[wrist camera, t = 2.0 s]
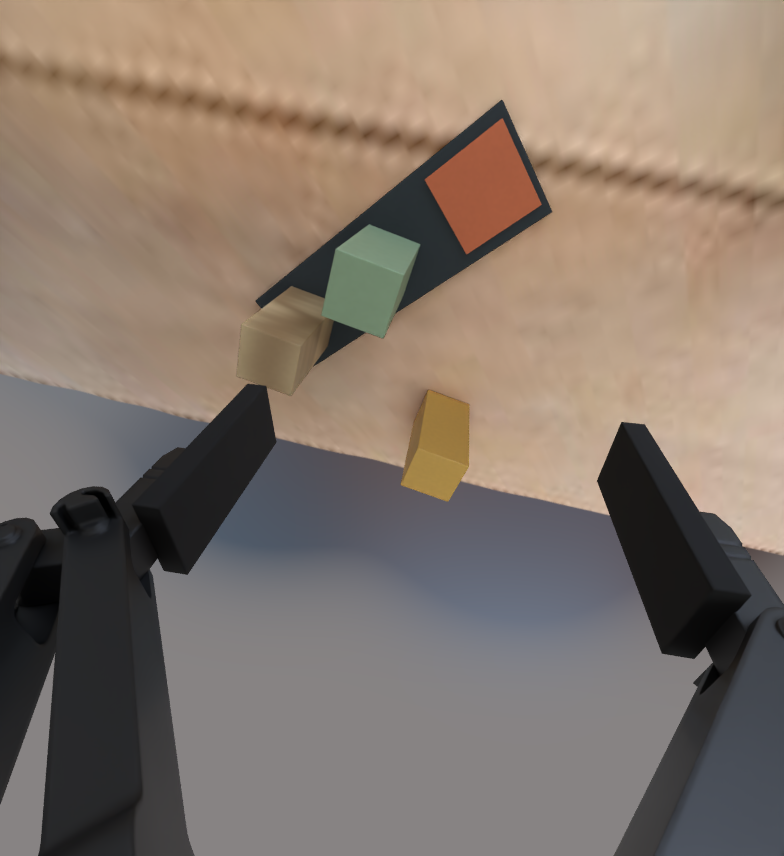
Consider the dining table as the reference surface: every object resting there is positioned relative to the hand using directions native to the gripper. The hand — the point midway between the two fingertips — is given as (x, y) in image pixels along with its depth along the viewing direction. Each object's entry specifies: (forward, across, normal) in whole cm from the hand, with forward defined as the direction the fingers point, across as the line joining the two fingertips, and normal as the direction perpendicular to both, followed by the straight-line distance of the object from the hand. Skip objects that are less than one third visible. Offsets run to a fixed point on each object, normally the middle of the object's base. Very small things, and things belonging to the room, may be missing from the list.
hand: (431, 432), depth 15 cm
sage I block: (+27, -6, 0) cm, 28 cm away
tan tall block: (+27, -14, -6) cm, 31 cm away
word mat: (+27, -6, 0) cm, 28 cm away
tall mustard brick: (+27, 0, -16) cm, 32 cm away
